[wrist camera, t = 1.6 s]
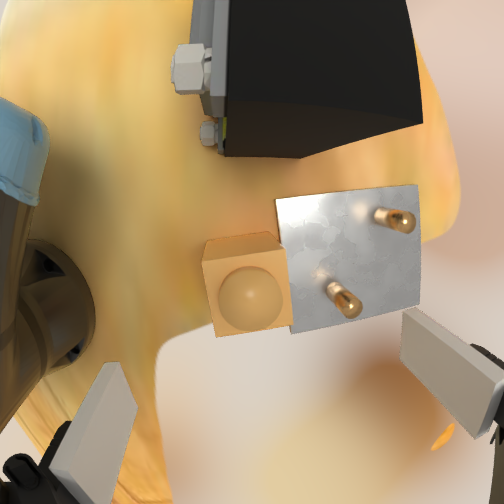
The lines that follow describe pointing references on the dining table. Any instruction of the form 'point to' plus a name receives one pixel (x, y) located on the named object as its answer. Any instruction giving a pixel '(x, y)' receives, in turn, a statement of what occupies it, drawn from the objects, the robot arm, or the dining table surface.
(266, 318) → the cube with dome knob
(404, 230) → the brass rounded peg
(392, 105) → the electrical component
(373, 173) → the dining table surface
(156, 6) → the dining table surface
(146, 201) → the dining table surface
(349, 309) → the amber glass cylinder
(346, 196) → the plate
